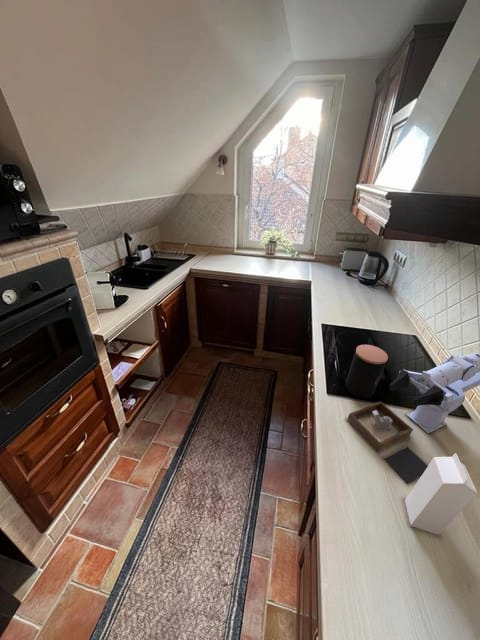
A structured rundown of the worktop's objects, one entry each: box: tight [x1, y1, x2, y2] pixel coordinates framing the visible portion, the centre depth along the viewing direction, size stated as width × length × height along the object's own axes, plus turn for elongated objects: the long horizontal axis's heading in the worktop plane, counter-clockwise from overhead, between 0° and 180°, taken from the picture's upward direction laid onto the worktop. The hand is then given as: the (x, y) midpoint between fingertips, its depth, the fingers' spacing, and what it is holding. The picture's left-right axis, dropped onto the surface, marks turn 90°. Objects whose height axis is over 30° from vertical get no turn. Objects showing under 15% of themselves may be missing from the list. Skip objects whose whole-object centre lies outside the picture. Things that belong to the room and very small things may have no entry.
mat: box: [383, 446, 429, 485], centre depth 74 cm, size 10×8×1 cm
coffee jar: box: [345, 344, 389, 399], centre depth 96 cm, size 11×11×18 cm
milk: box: [404, 452, 478, 536], centre depth 58 cm, size 6×6×22 cm
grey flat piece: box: [371, 410, 393, 431], centre depth 83 cm, size 7×2×8 cm, turn 92°
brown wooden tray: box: [346, 401, 414, 453], centre depth 84 cm, size 15×13×4 cm
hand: (402, 394), depth 72 cm, fingers open, 7 cm apart
